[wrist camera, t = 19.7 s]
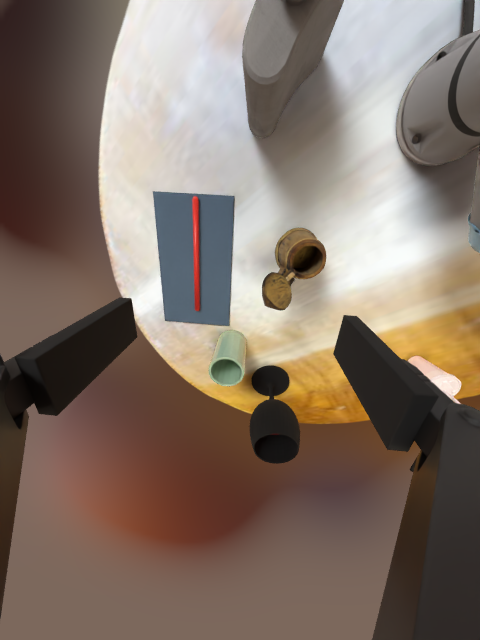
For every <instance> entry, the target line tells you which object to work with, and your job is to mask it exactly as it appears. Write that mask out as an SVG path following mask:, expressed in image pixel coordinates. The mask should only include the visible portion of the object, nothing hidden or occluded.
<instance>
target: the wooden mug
mask: <svg viewBox="0 0 480 640" xmlns="http://www.w3.org/2000/svg"><path fill="white" fill-rule="evenodd" d="M275 256H276V261H277V264H278V266H279V267H280V270H279V272H278V273H274V272H271V273H270V274H268V275H267V276H266V277H265V279H264V281H263V285H262V297H263V300H264V304H265V306H267V307H270V308H273V309H276V310H285V309H286V308H287V307H288V305H289V304H290V302H291V298H292V293H291V284H292V283H293V282H294V280H295V279H294V278H298V279H308V278H312V277H314V276H316V275H317V274H318V273H320V272H321V271H322V269H323V268H324V266H325V262H326V250H325V248H324V246H323V244H322V243H321V242H320V241H319V240H317V238H316V237H315V235H314V234H313V233H312V232H310V231H309V230H307V229H304V228H294V229H291V230H289V231H288V232H286V233H285V234H284V235H283V236H282V237H281V238H280V240H279V241H278V243H277V245H276V250H275ZM293 277H294V278H293Z"/></svg>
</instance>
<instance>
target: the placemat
mask: <svg viewBox="0 0 480 640" xmlns="http://www.w3.org/2000/svg"><path fill="white" fill-rule="evenodd" d="M153 196H154V207H155V218H156V229H157V239H158V250H159V261H160V271H161V282H162V293H163V304H164V314H165V321H177V322H189V323H201V324H213V325H225V326H229V313H230V288H231V263H232V237H233V212H234V196H223V195H205V194H188V193H171V192H153ZM194 196H196V197H198V199H199V272H200V310H199V311H196V310H195V297H194V251H193V205H192V199H193V197H194Z"/></svg>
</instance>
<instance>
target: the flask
mask: <svg viewBox="0 0 480 640" xmlns="http://www.w3.org/2000/svg"><path fill="white" fill-rule="evenodd" d="M343 2H344V0H256V1H255V4H254V7H253V9H252V12H251V15H250V18H249V21H248V24H247V27H246V30H245V35H244V40H243V53H242V58H243V69H244V80H245V91H246V101H247V112H248V123H249V127H250V130H251V131H252V133H253V134H254V135H255V136H257V137H258V138H266V137H268V136H270V135H271V134H272V133H273V131H274V130H275V128H276V125H277V123H278V121H279V119H280V116H281V114H282V112H283V110H284V108H285V107H286V105H287V103H288V102H289V100H290V98H291V97H292V95H293V94H294V93H295V91H296V90H297V89H298V87H299V86H300V85H301V83H302V82H303V81H304V80H305V79H306V78H307V77H308V76H309V75H310V74H311V73H312V72H313V71H314V70H315V69H316V67H317V66H318V64H319V62H320V60H321V57H322V55H323V52H324V50H325V47H326V45H327V42H328V40H329V37H330V35H331V32H332V30H333V27H334V24H335V22H336V19H337V17H338V14H339V12H340V9H341V7H342V4H343Z"/></svg>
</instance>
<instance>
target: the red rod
mask: <svg viewBox="0 0 480 640" xmlns="http://www.w3.org/2000/svg"><path fill="white" fill-rule="evenodd" d="M192 205H193V251H194V297H195V310H196V311H199V310H200V272H199V199H198V197H196V196H194V197H193V199H192Z"/></svg>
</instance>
